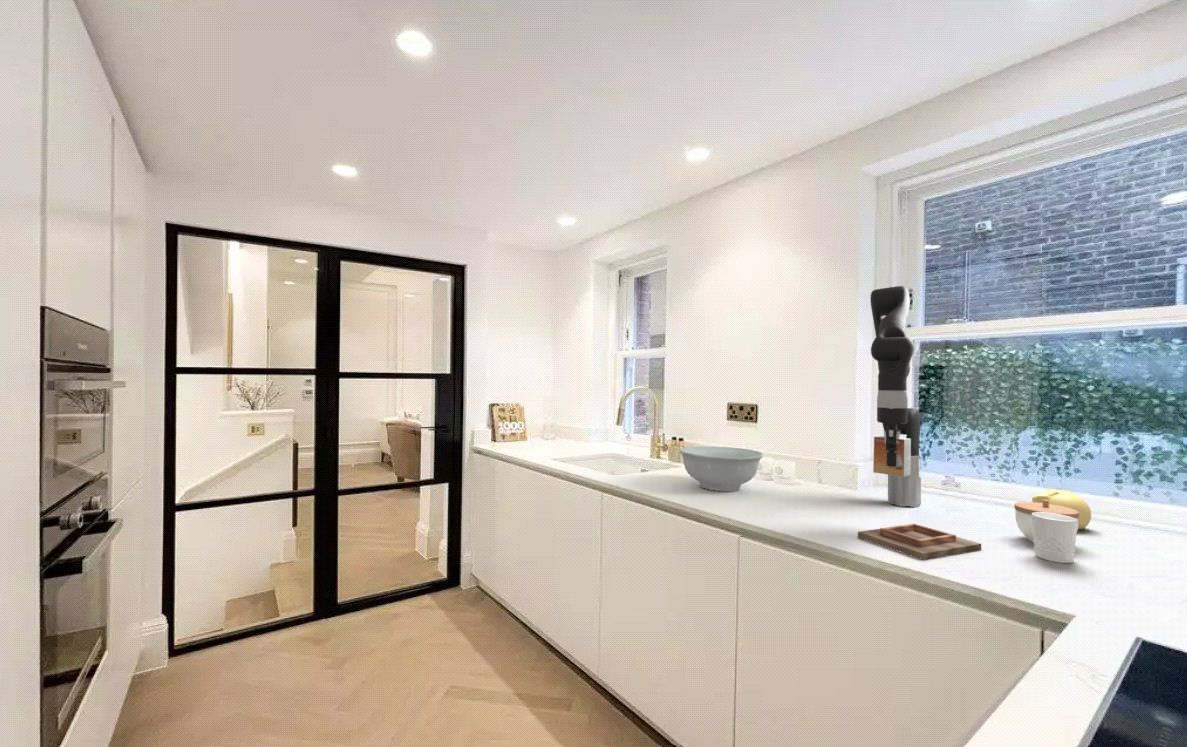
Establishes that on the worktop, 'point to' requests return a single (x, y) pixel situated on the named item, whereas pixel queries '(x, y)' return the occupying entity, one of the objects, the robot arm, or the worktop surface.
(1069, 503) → the sculpture
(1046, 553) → the white cup
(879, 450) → the small box
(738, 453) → the bowl
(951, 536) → the walnut board
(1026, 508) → the lidded bowl
